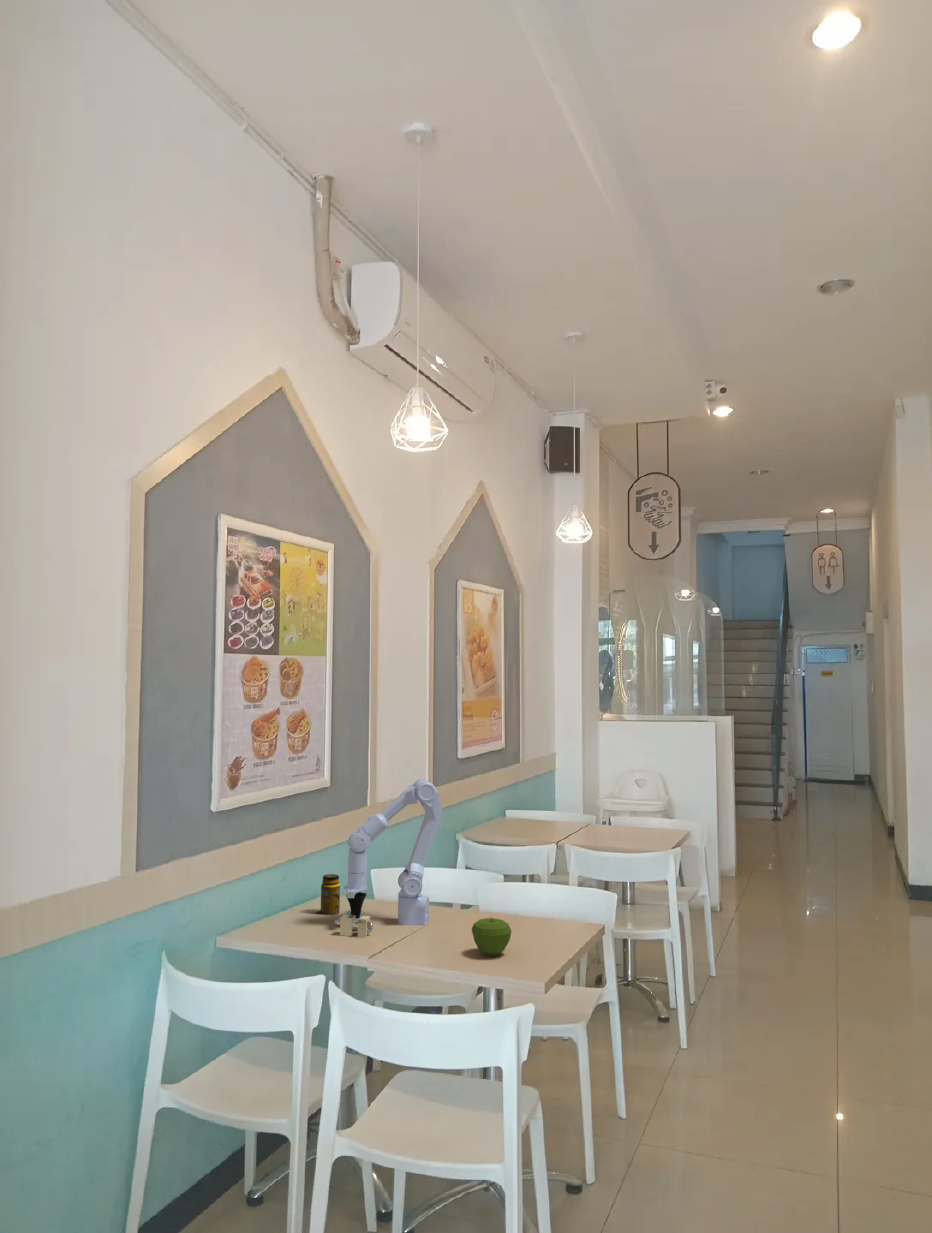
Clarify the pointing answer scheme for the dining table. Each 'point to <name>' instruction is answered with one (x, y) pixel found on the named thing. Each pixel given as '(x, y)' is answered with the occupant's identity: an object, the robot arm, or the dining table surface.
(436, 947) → the dining table surface
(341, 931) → the beige rectangular block
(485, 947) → the apple
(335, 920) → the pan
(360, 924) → the grey dial panel
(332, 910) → the condiment
